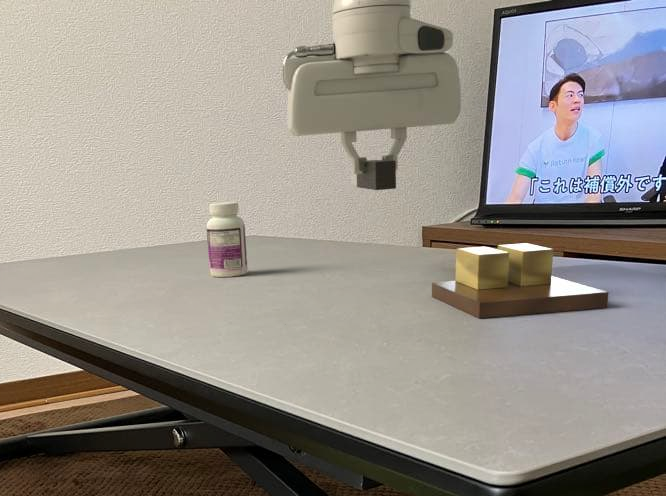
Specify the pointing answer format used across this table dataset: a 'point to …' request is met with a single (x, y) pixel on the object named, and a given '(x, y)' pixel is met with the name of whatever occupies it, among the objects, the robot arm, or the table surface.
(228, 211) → the pill bottle
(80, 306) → the table surface
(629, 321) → the table surface
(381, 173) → the charcoal gray box
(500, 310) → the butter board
